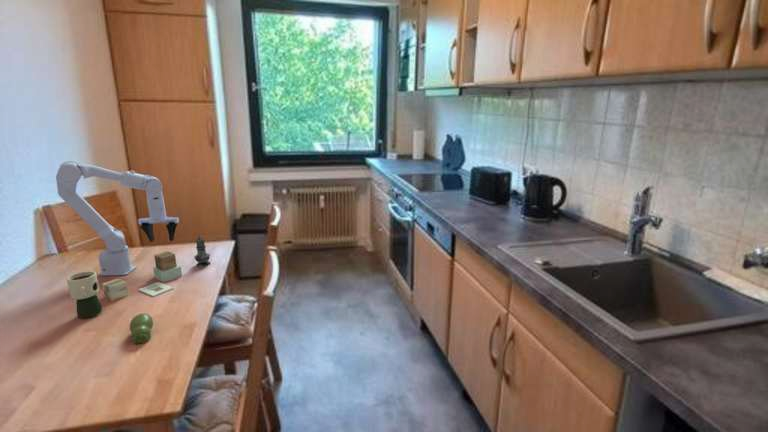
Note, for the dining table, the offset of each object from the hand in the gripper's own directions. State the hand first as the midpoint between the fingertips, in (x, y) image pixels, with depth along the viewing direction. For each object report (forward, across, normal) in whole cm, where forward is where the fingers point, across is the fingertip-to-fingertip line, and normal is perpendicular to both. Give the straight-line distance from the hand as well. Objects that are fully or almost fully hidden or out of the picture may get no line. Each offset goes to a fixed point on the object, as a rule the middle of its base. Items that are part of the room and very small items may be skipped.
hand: (162, 240), depth 159 cm
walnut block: (+6, +7, -14) cm, 17 cm away
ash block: (+10, -4, -29) cm, 31 cm away
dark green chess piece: (+10, +16, -3) cm, 19 cm away
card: (+9, +7, -25) cm, 28 cm away
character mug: (+10, -5, -41) cm, 42 cm away
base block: (+10, +7, -14) cm, 18 cm away
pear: (+10, +17, -54) cm, 58 cm away
